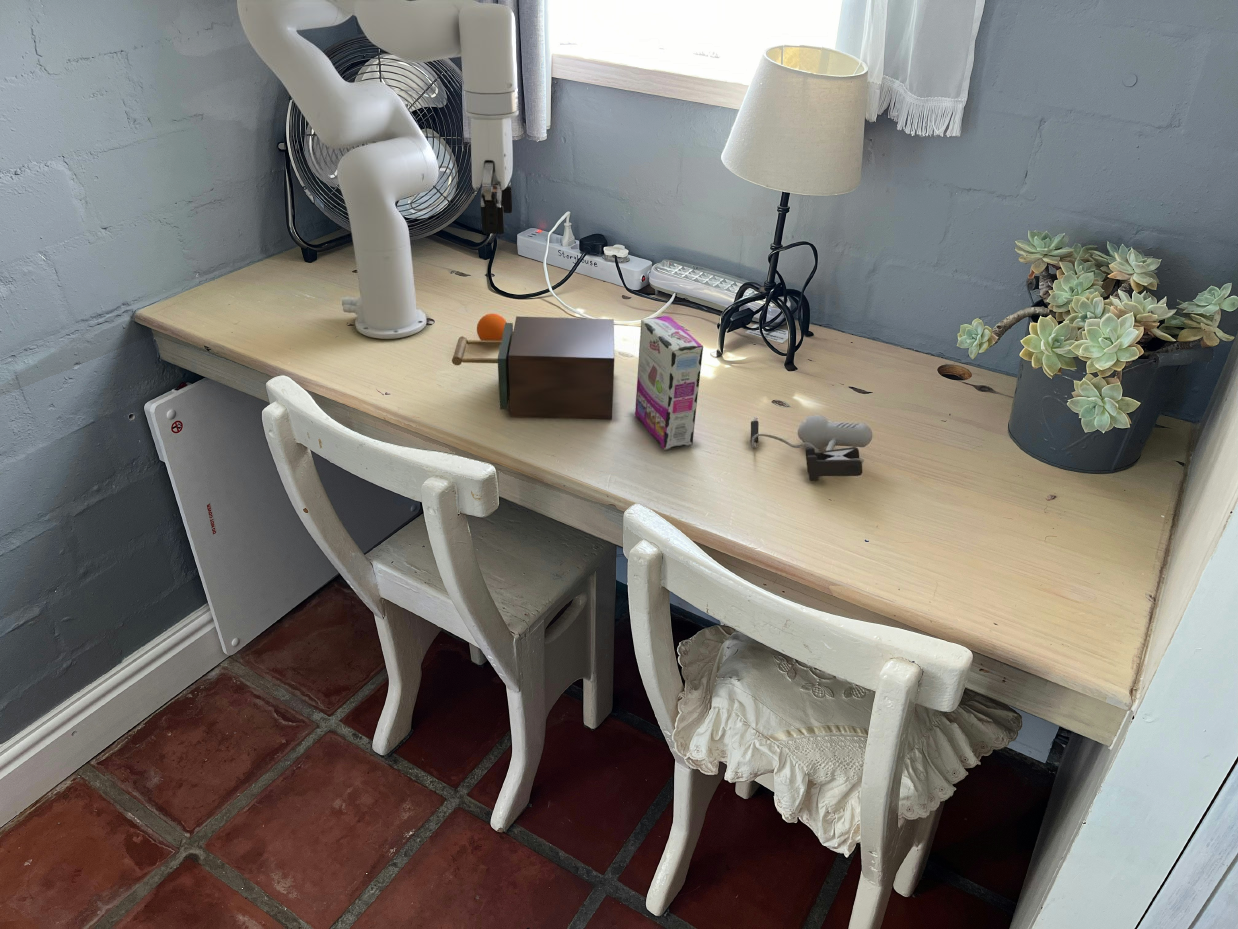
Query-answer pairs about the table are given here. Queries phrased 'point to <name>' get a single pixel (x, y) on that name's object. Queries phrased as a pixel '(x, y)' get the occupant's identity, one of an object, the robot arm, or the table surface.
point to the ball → (491, 327)
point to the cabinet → (562, 368)
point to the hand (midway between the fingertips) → (497, 222)
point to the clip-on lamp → (824, 433)
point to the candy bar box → (668, 381)
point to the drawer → (491, 360)
